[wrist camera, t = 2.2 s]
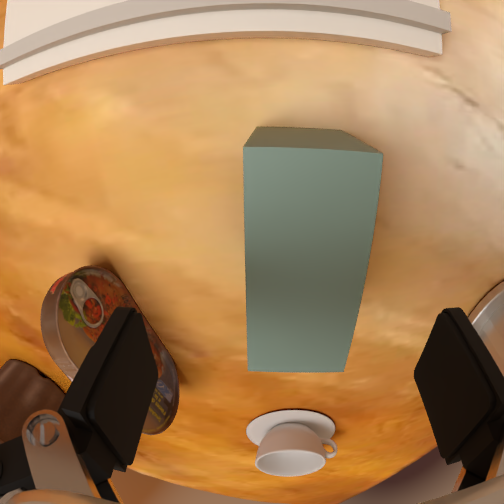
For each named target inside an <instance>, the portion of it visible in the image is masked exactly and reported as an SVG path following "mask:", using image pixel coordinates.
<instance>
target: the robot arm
mask: <svg viewBox="0 0 504 504" xmlns="http://www.w3.org/2000/svg"><path fill="white" fill-rule="evenodd" d="M414 379H415V382H416V384H417V387H418V390H419V392H420V395H421V398H422V400H423V403H424V406H425V409H426V412H427V415H428V418H429V421H430V424H431V427H432V430H433V433H434V436H435V439H436V442H437V445H438V448H439V452H440V455H441V456H442V458H445V460H446V463H447V465H449V464H452V463H455V462H459V461H460V460H461V461H462V464H463V467H462V469H461V472H460V474H459V476H458V479H457V481H456V483H455V486H454V488H453V490H452V492H451V494H448V495H445V496H442V497H439V498H436V499H432V500H429V501H425V502H421V503H418V504H504V281H503V282H502V283H500V284H499V285H497V286H496V287H495V288H494V289H493V290H492V291H490V292H489V293H488V294H487V295H486V296H485V297H484V298H483V299H482V300H481V301H480V302H479V304H478V305H477V306H476V308H475V309H474V310H473V311H472V313H471V314H470V316H469V317H468V318H467V316H466V315H465V313H464V312H463V310H462V309H461V308H459V307H458V308H446V309H444V310H443V311H442V312H441V313H440V314H439V315H438V316H437V319H436V321H435V324H434V326H433V329H432V331H431V334H430V336H429V338H428V341H427V343H426V345H425V348H424V350H423V352H422V354H421V357H420V359H419V361H418V363H417V365H416V367H415V370H414ZM157 381H158V368H157V365H156V362H155V359H154V355H153V352H152V349H151V345H150V342H149V339H148V335H147V331H146V328H145V324H144V321H143V317H142V314H141V313H137V310H136V309H135V308H133V307H120V306H118V307H116V308H115V310H114V311H113V313H112V315H111V316H110V318H109V320H108V321H107V323H106V325H105V327H104V328H103V330H102V332H101V334H100V335H99V337H98V339H97V341H96V343H95V344H94V345H93V346H92V347H91V348H90V350H89V351H88V353H87V355H86V357H85V359H84V360H83V362H82V364H81V366H80V368H79V370H78V372H77V374H76V375H75V377H74V379H73V381H72V383H71V385H70V387H69V389H68V391H67V393H66V395H65V397H64V399H63V401H62V403H61V405H60V407H59V409H58V411H57V412H55V411H52V410H46V409H44V410H39V411H37V412H35V413H33V414H31V415H30V416H29V417H28V418H27V420H26V421H25V423H24V425H23V429H22V435H21V436H19V437H16V438H14V439H12V440H9V441H7V442H4V443H2V444H0V504H124V503H123V502H122V500H121V498H120V496H119V494H118V493H117V491H116V489H115V487H114V485H113V483H112V481H111V479H110V478H111V475H112V472H113V469H114V470H119V471H122V472H126V468H127V465H131V464H132V463H133V461H134V457H135V454H136V450H137V447H138V443H139V440H140V437H141V433H142V430H143V426H144V423H145V420H146V416H147V413H148V410H149V407H150V403H151V400H152V397H153V394H154V391H155V388H156V384H157Z"/></svg>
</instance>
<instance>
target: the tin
mask: <svg viewBox="0 0 504 504" xmlns="http://www.w3.org/2000/svg"><path fill="white" fill-rule="evenodd" d="M118 306H120V307H133V308H135V309H136V310H137V313H141V311H140V309H139V308H138V306H137V305H136V303H135V302H134V300H133V298H132V297H131V295H130V294H129V292H128V290H127V289H126V287H125V286H124V284H123V283H122V282H121V281H120V279H118V278H117V277H116V276H115V275H114V274H113V273H112V272H110V271H109V270H107V269H105V268H103V267H99V266H92V265H91V266H84V267H81V268H79V269H77V270H75V271H74V272H71V273H68V274H66V275H64V276H62V277H61V278H59V279H58V280H57V281H56V282H55V283H54V284H53V285H52V286H51V288H50V289H49V291H48V292H47V294H46V296H45V298H44V301H43V304H42V309H41V330H42V335H43V340H44V343H45V346H46V348H47V350H48V352H49V354H50V356H51V357H52V359H53V360H54V362H55V363H56V364H57V365H58V367H59V368H60V369H61V370H62V371H63V372H64V374H65V375H66V376H67V377H68V378H69V379H70V380H71V381H73V379H74V377H75V375H76V374H77V372H78V370H79V368H80V366H81V364H82V362H83V360H84V359H85V357H86V355H87V353H88V351H89V350H90V348H91V347H92V346H93V345H94V344H95V343H96V341H97V339H98V337H99V335H100V334H101V332H102V330H103V328H104V327H105V325H106V323H107V321H108V320H109V318H110V316H111V315H112V313H113V311H114V310H115V308H116V307H118ZM141 314H142V313H141ZM142 317H143V321H144V324H145V328H146V331H147V335H148V339H149V342H150V345H151V349H152V352H153V355H154V359H155V362H156V365H157V368H158V381H157V384H156V388H155V391H154V394H153V397H152V400H151V403H150V407H149V410H148V413H147V416H146V420H145V423H144V426H143V430H142V433H143V434H147V435H156V434H159V433H162V432H163V431H165V430H166V429H167V428H168V427H169V426H170V425H171V423H172V422H173V420H174V418H175V415H176V413H177V409H178V404H179V381H178V375H177V371H176V368H175V365H174V362H173V360H172V358H171V356H170V354H169V352H168V351H167V349H166V348H165V346H164V345H163V344H162V342H161V341H160V339H159V338H158V336H157V335H156V334H155V332H154V331H153V329H152V328H151V326H150V325H149V323H148V322H147V320H146V319H145V317H144V316H143V314H142Z"/></svg>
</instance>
